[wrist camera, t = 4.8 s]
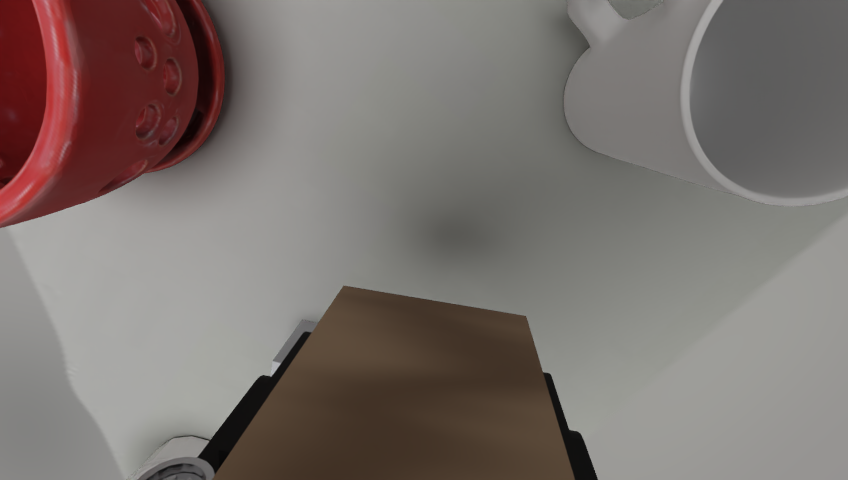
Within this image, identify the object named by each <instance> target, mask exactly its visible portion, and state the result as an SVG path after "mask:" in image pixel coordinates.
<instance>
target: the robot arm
mask: <svg viewBox="0 0 848 480" xmlns="http://www.w3.org/2000/svg"><path fill="white" fill-rule="evenodd" d="M311 333H312V332H307V331H305V332H304V333H303V334H302V335H301V336H300V338H299V339H298V340H297V342H296V343H295V345H294V346H293V347H292V349H291V350H290V352H289V353H288V354H287V356H286V357H285V359H284V360H283V361H282V363H281V364H280V366H279V367H278V368H277V370H276V371H275V372H274V374H273V375H272V377H270V376H265V375H262V376H260V377H259V378H258V379H257V380H256V381H255V383H254V384H253V385H252V386H251V388H250V389H249V390H248V392H247V393H246V394H245V396H244V397H243V398H242V400H241V401H240V402H239V403H238V405H237V406H236V407H235V409H234V410H233V411H232V413H231V414H230V415H229V417H228V418H227V419H226V420H225V422H224V423H223V424H222V426H221V427H220V428H219V430H218V431H217V432H216V433H215V435H214V436H213V437H212V439H211V440H210V441H209V443H208V444H207V445H206V447H205V448H204V449H203V450H202V452H201V453H200V454H199V456H198V457H181V458H174V459H171V460H168V461H165V462H163V463H160V464H158V465H156V466H155V467H153V468H151V469H150V470H148V471H146V472H145V473H144V474H143V475H142V476H141V477H140V478H138V479H137V480H212V479H213V477H214V476H215V474H216V473H217V471H218V470H219V468H220V467H221V465H222V464H223V462H224V461H225V459H226V458H227V457H228V455H229V454H230V452H231V451H232V449H233V448H234V446H235V445H236V443H237V442H238V440H239V439H240V437H241V436H242V434H243V433H244V432H245V430H246V429H247V427H248V426H249V424H250V423H251V421H252V420H253V418H254V417H255V415H256V414H257V412H258V411H259V409H260V408H261V407H262V405H263V404H264V402H265V401H266V399H267V398H268V396H269V395H270V393H271V392H272V390H273V389H274V387H275V386H276V385H277V383H278V382H279V380H280V379H281V377H282V376H283V374H284V373H285V371H286V370H287V368H288V367H289V365H290V364H291V362H292V361H293V360H294V358H295V357H296V355H297V354H298V352H299V351H300V349H301V348H302V346H303V345H304V343H305V342H306V340H307V339H308V337H309V336H310V335H311ZM543 375H544V378H545V381H546V385H547V388H548V391H549V395H550V398H551V401H552V405H553V408H554V411H555V415H556V418H557V421H558V425H559V428H560V431H561V435H562V438H563V441H564V445H565V448H566V451H567V455H568V458H569V461H570V465H571V468H572V472H573V475H574V478H575V480H598V479H597V476H596V473H595V470H594V467H593V465H592V462H591V459H590V457H589V454H588V451H587V448H586V445H585V443H584V440H583V438H582V436H581V434H580V433H579V432H577V431H571V430H569V428H568V425H567V422H566V419H565V416H564V413H563V410H562V407H561V404H560V401H559V398H558V395H557V392H556V389H555V386H554V383H553V379H552V377H551V375H550V374H549V373H543Z"/></svg>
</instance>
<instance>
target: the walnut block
mask: <svg viewBox="0 0 848 480" xmlns="http://www.w3.org/2000/svg"><path fill="white" fill-rule="evenodd" d="M212 480H575V478H574V475H573V472H572V468H571V465H570V461H569V458H568V455H567V451H566V448H565V445H564V441H563V438H562V435H561V431H560V428H559V425H558V421H557V418H556V415H555V411H554V408H553V405H552V401H551V398H550V395H549V391H548V388H547V385H546V381H545V378H544V375H543V371H542V368H541V365H540V361H539V358H538V355H537V351H536V348H535V345H534V341H533V338H532V334H531V331H530V328H529V324H528V321H527V318H526V316H522V315H516V314H510V313H504V312H498V311H492V310H486V309H480V308H474V307H468V306H462V305H456V304H450V303H444V302H438V301H432V300H426V299H420V298H414V297H408V296H402V295H396V294H390V293H384V292H378V291H372V290H366V289H360V288H354V287H348V286H343V288H342V289H341V290H340V292H339V293H338V295H337V296H336V298H335V299H334V301H333V302H332V304H331V305H330V307H329V308H328V310H327V311H326V313H325V314H324V315H323V317H322V318H321V320H320V321H319V323H318V324H317V326H316V327H315V329H314V330H313V332H312V333H311V335H310V336H309V337H308V339H307V340H306V342H305V343H304V345H303V346H302V348H301V349H300V351H299V352H298V354H297V355H296V357H295V358H294V360H293V361H292V362H291V364H290V365H289V367H288V368H287V370H286V371H285V373H284V374H283V376H282V377H281V379H280V380H279V382H278V383H277V385H276V386H275V387H274V389H273V390H272V392H271V393H270V395H269V396H268V398H267V399H266V401H265V402H264V404H263V405H262V407H261V408H260V409H259V411H258V412H257V414H256V415H255V417H254V418H253V420H252V421H251V423H250V424H249V426H248V427H247V429H246V430H245V432H244V433H243V434H242V436H241V437H240V439H239V440H238V442H237V443H236V445H235V446H234V448H233V449H232V451H231V452H230V454H229V455H228V457H227V458H226V459H225V461H224V462H223V464H222V465H221V467H220V468H219V470H218V471H217V473H216V474H215V476H214V477H213V479H212Z"/></svg>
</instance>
